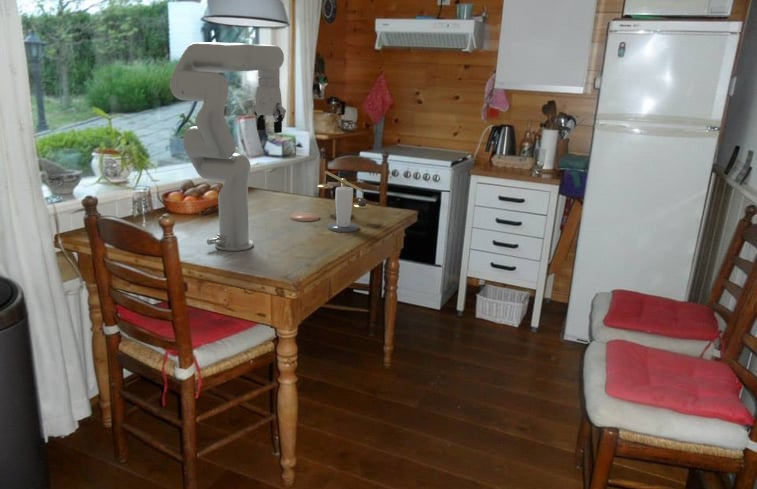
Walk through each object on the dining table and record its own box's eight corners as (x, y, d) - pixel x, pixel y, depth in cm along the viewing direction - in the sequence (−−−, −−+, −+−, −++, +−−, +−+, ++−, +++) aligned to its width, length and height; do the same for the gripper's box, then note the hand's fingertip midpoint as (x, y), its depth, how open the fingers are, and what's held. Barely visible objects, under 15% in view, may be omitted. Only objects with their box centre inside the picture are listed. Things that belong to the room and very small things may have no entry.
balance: (360, 226, 222) (362, 181, 216) (312, 212, 239) (312, 170, 234) (374, 222, 227) (376, 179, 222) (325, 209, 245) (326, 168, 240)
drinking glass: (349, 229, 213) (350, 190, 208) (332, 227, 214) (333, 189, 209) (353, 224, 219) (355, 187, 215) (337, 223, 220) (338, 185, 216)
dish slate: (343, 234, 209) (343, 231, 209) (321, 227, 216) (321, 225, 216) (364, 228, 218) (364, 226, 218) (342, 222, 225) (342, 220, 225)
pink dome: (303, 223, 221) (303, 220, 221) (284, 217, 228) (284, 215, 228) (325, 218, 230) (325, 216, 230) (305, 212, 237) (305, 210, 237)
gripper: (245, 81, 201) (246, 129, 206) (276, 84, 191) (276, 134, 196) (262, 82, 207) (262, 128, 212) (292, 84, 196) (292, 133, 201)
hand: (269, 131), depth 204 cm, fingers open, 9 cm apart
